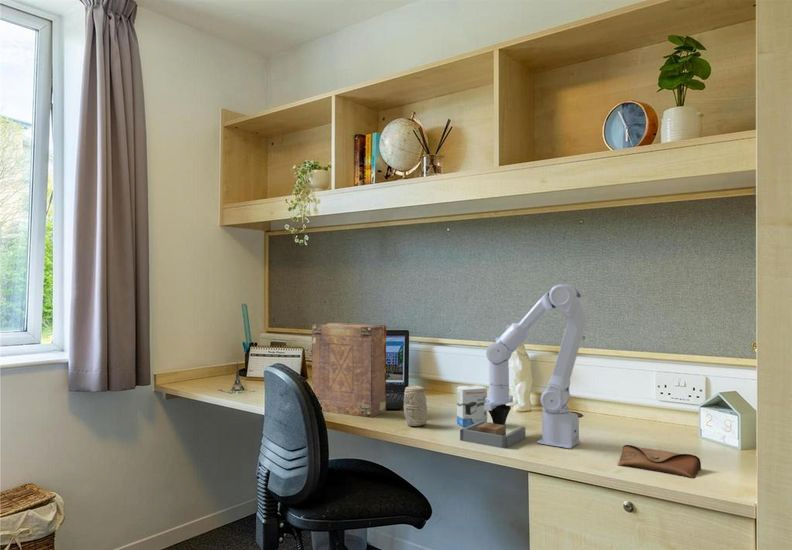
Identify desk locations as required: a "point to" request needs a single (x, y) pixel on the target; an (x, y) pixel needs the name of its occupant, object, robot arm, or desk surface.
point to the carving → (415, 406)
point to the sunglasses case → (660, 461)
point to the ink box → (471, 405)
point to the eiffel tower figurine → (236, 385)
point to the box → (491, 436)
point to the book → (349, 368)
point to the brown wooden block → (492, 428)
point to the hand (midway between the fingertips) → (499, 431)
